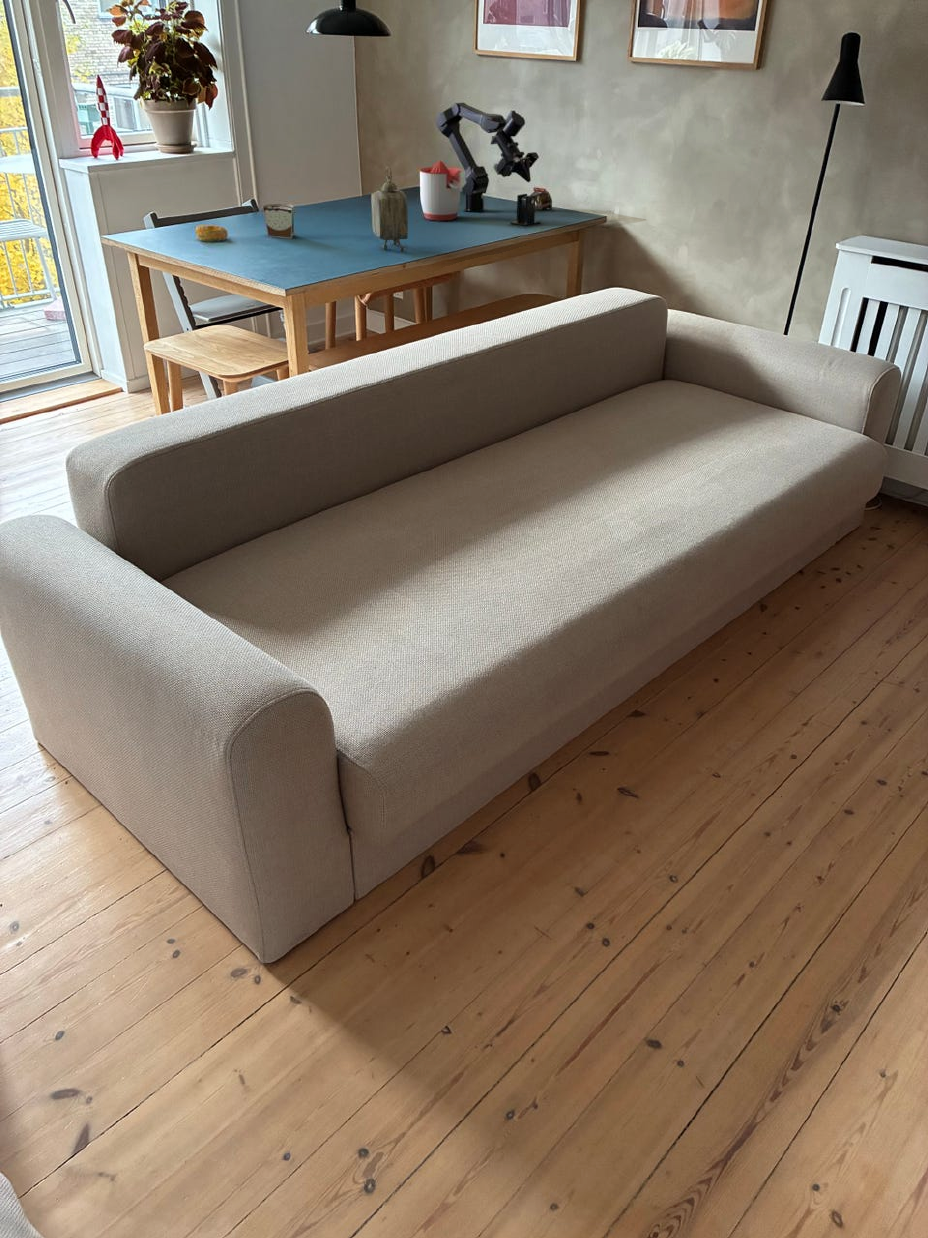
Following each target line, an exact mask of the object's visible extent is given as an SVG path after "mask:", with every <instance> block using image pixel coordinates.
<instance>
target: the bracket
mask: <svg viewBox="0 0 928 1238" xmlns="http://www.w3.org/2000/svg"><path fill="white" fill-rule="evenodd" d="M525 195H528V193H522V194H517V197H516V198H517V200H516V220H514V221H510V224H509V225H512V226H518V227H523V228H527V227H530V226H531V227H532V226H535V225H536V226H537V225H540V224H541V220H535V219H536V218H535V217H536V216H535V215H536V209H535V207H536V201H535V197H536V195H531V194H530V195H531V196H529V195H528V196H526V206H525V205H522V201H521V199H522V198H523V197H524V196H525Z"/></svg>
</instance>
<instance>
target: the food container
mask: <svg viewBox="0 0 928 1238" xmlns="http://www.w3.org/2000/svg"><path fill="white" fill-rule="evenodd" d="M261 212H262V213H263V217H264V222H265V229H266V232H267V237H268V238H269V237H270V238H280V239H281V238H282V239H293V238H294V237H295V236H294V235H295V234H294V232H295V231H294V230H295V227H294V225H295V224H294V223H295V222H294V221H295V218H294V217H295V215H296V209H295V207H294V205H293V204H289V203H288V204H287V203H269V204H263V205H262V206H261Z"/></svg>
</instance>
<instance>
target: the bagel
mask: <svg viewBox="0 0 928 1238" xmlns="http://www.w3.org/2000/svg"><path fill="white" fill-rule="evenodd" d="M195 234H196V236H197V239H198V240H199V241H201V242H207V243H209V242H210V243H211V242H212V243H213V242H220V241H225V240H227V238H228V237H229V234H228V230H226V228H224V227H223V226H219V225H216V224H215V225H214V224H206V225H204V224H199V225H197V226H196V227H195Z"/></svg>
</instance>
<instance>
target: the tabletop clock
mask: <svg viewBox="0 0 928 1238" xmlns="http://www.w3.org/2000/svg"><path fill="white" fill-rule="evenodd" d="M388 171H389V175H388ZM385 178H386V180H387V181H386V182H384V183H383V184H382V185H381V189H380V190H376V191H374V192H373V193H372V194H371V195H370V200H371V201H370V202H371V223H372V225H371V226H372V231H373V233H374V235H375V236H376V237H377V238H379V239H381V240H383V241H384V243H383V244H382V246H381V248H382V249H383V250H384V251H385V250H387V248H388V245H387V242H388V241H392V242H391V243H392V245H393V246H397V245H398V247H399V252H401V253H403V252H405V247H404V246H402V244H401V241H400V240H407V239H408V235H409V218H408V217H409V215H408V200H407V196H406V194H405V192H404V191H403V190H402V189H398V187H397V185H396V184H395V183H394V182H392V178H393V175H392V170H391V167H389V166H386V167H385Z"/></svg>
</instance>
